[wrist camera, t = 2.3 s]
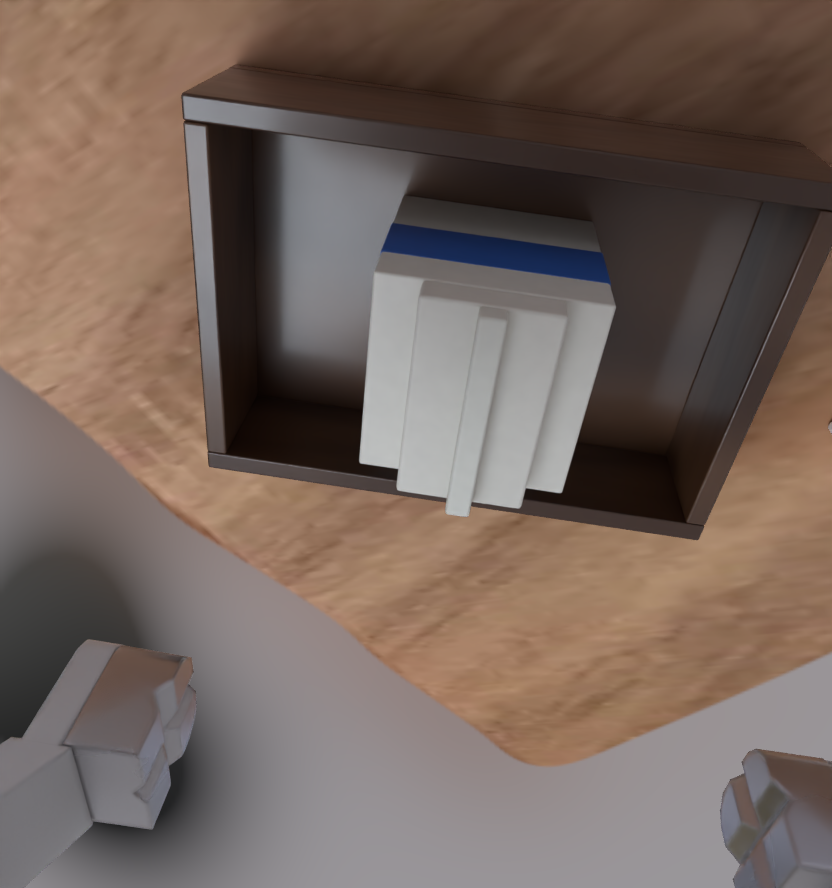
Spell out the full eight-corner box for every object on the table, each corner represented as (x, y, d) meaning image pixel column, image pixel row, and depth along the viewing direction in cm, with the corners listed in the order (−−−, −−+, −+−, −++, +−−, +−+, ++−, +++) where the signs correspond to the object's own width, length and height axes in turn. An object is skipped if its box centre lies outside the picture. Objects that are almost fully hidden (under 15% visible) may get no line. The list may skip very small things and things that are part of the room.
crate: (234, 64, 20) (180, 92, 16) (801, 142, 19) (860, 187, 16) (245, 399, 26) (208, 467, 23) (674, 462, 26) (698, 541, 22)
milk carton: (402, 193, 21) (361, 298, 15) (594, 220, 21) (627, 337, 15) (386, 361, 24) (347, 501, 18) (552, 385, 24) (565, 534, 18)
